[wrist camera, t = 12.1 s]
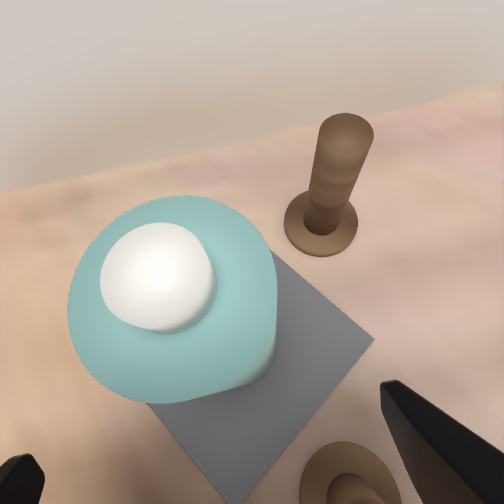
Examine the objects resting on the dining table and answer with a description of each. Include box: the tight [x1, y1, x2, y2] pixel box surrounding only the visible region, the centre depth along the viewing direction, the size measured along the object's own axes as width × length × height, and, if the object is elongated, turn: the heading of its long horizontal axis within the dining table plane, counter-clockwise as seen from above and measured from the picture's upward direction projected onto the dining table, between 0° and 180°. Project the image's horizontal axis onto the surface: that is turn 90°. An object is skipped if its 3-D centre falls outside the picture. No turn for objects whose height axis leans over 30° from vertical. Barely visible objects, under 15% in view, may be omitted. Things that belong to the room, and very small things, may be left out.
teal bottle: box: [68, 196, 277, 404], centre depth 13 cm, size 5×5×14 cm
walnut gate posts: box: [285, 113, 401, 504], centre depth 15 cm, size 21×5×9 cm, turn 1°
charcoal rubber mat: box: [147, 249, 375, 504], centre depth 20 cm, size 12×12×1 cm
